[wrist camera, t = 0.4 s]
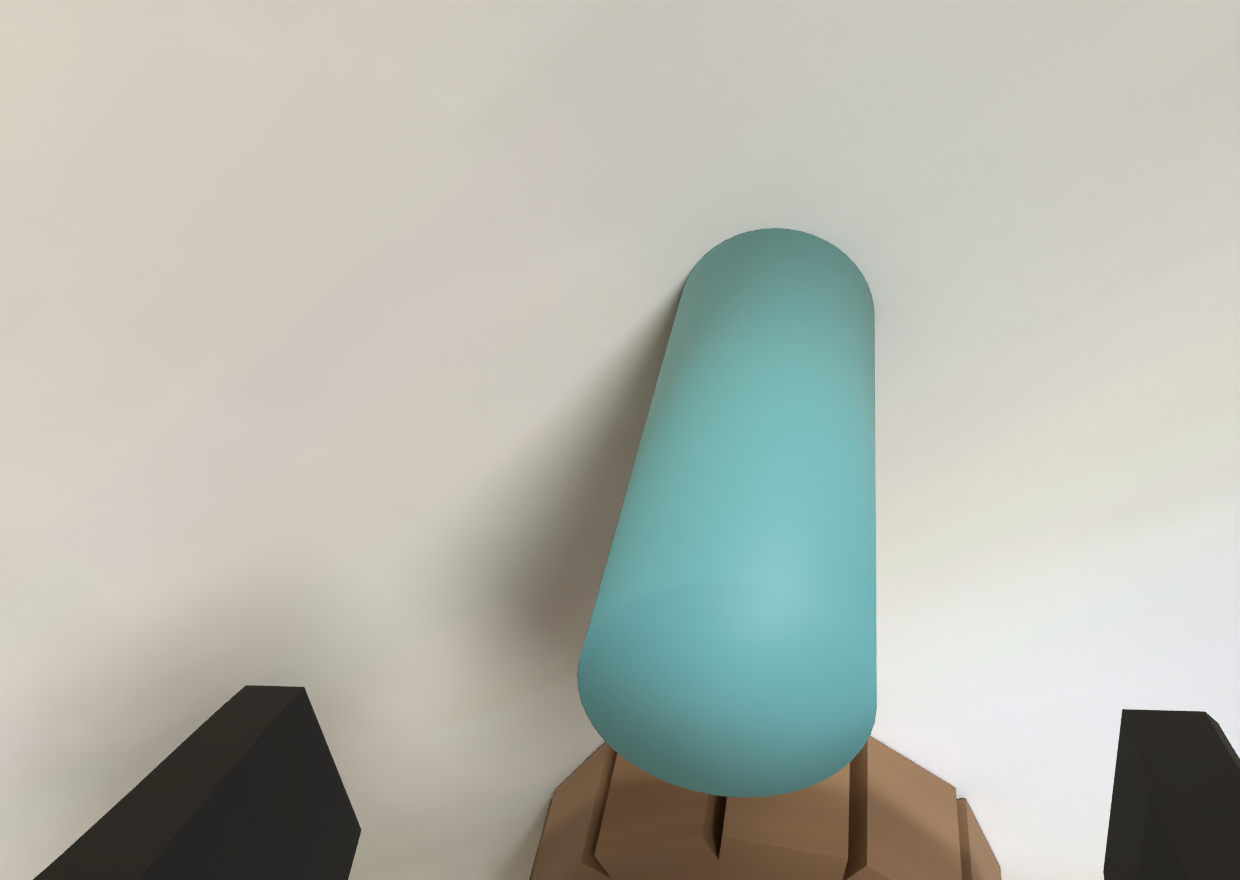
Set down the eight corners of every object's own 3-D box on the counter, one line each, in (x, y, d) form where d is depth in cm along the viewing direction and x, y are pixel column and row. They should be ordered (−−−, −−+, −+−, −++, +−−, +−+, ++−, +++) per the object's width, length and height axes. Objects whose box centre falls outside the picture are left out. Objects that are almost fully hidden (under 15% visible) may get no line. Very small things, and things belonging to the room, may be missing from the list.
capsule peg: (916, 303, 18) (941, 692, 11) (793, 431, 20) (755, 835, 13) (754, 189, 17) (685, 531, 11) (643, 332, 19) (524, 702, 12)
